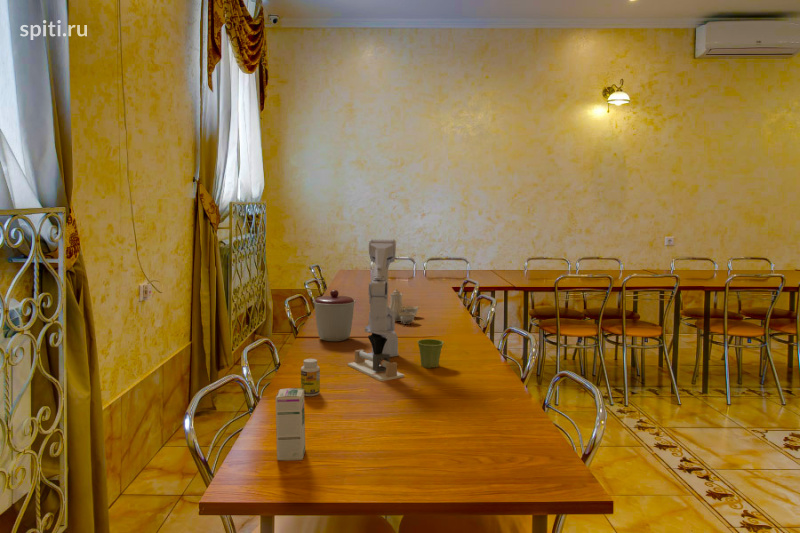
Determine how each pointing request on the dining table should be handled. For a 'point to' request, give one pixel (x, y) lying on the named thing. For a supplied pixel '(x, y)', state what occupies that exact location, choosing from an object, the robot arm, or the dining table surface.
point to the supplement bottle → (310, 377)
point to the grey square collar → (376, 361)
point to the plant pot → (430, 352)
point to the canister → (334, 316)
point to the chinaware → (401, 308)
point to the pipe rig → (367, 366)
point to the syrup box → (290, 424)
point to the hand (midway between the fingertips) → (377, 356)
